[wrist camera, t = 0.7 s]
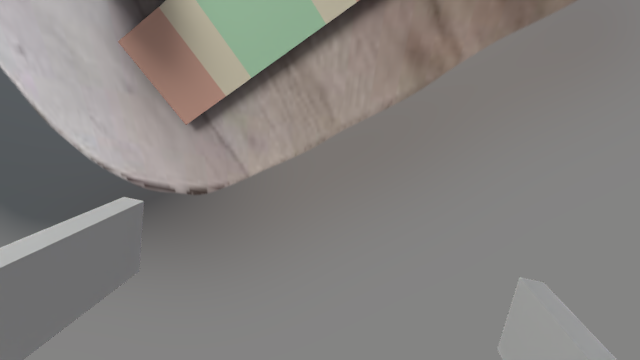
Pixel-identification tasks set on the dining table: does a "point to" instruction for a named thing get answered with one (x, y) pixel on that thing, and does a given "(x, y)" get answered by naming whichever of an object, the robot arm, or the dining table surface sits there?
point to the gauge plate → (219, 44)
